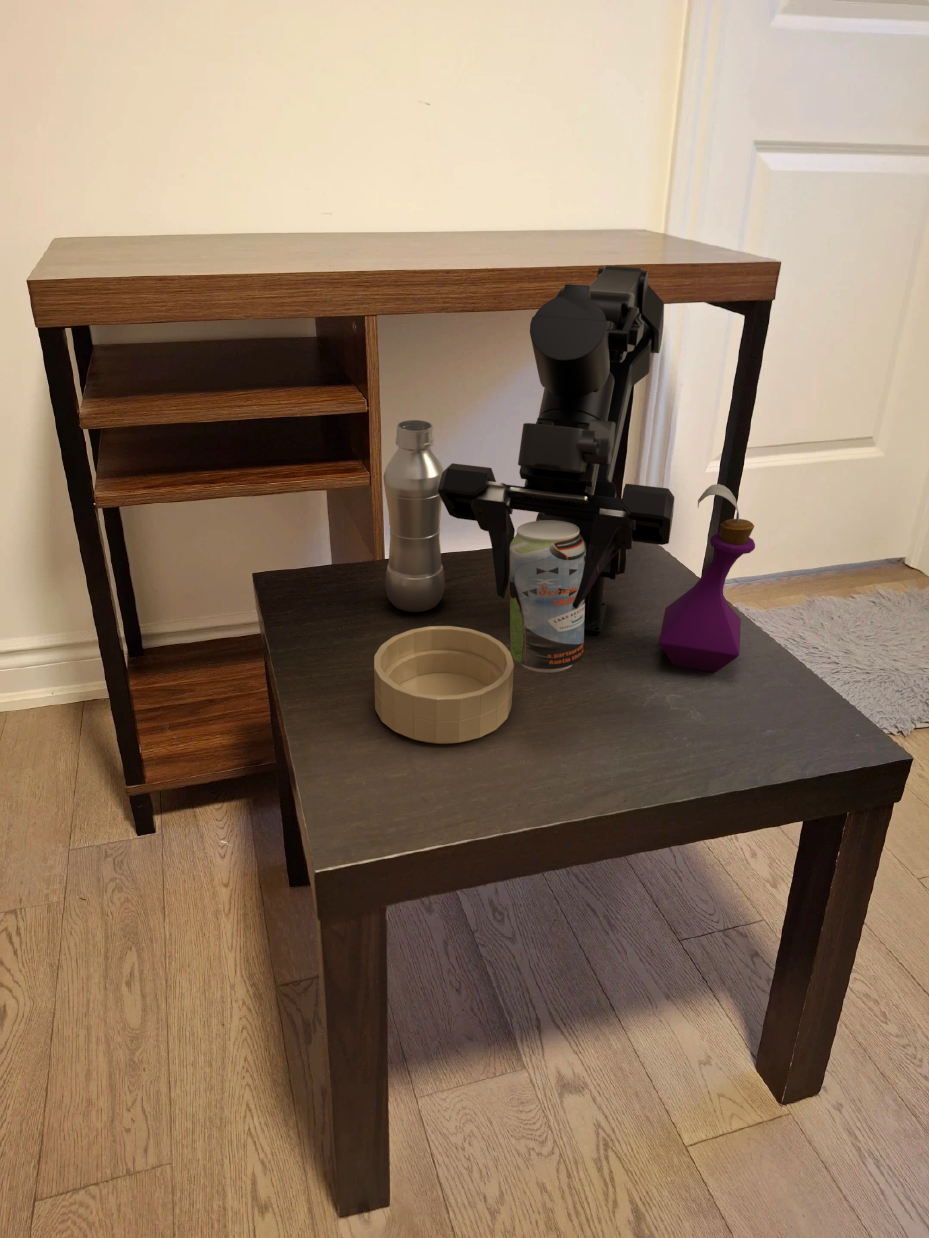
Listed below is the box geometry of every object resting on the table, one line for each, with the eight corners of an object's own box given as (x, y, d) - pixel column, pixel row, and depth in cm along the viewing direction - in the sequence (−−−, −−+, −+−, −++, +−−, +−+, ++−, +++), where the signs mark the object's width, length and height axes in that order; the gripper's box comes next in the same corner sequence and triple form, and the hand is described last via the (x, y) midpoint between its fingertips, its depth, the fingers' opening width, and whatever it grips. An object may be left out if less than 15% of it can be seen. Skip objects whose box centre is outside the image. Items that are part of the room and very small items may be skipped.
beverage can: (543, 692, 75) (559, 557, 69) (484, 651, 80) (493, 522, 73) (598, 667, 78) (617, 537, 72) (538, 629, 83) (551, 504, 77)
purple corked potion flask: (735, 646, 96) (767, 479, 87) (733, 684, 89) (767, 508, 81) (661, 635, 97) (685, 470, 89) (654, 671, 91) (679, 498, 82)
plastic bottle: (445, 591, 105) (448, 416, 95) (443, 620, 99) (446, 437, 89) (388, 589, 105) (385, 414, 95) (382, 619, 99) (378, 435, 89)
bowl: (398, 663, 91) (398, 618, 89) (522, 681, 89) (524, 636, 87) (356, 734, 81) (354, 686, 79) (494, 758, 79) (496, 708, 76)
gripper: (445, 364, 73) (401, 551, 69) (689, 387, 69) (657, 587, 65) (470, 432, 83) (432, 597, 80) (683, 455, 79) (654, 631, 76)
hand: (536, 602), depth 75 cm, fingers closed on beverage can, 6 cm apart
